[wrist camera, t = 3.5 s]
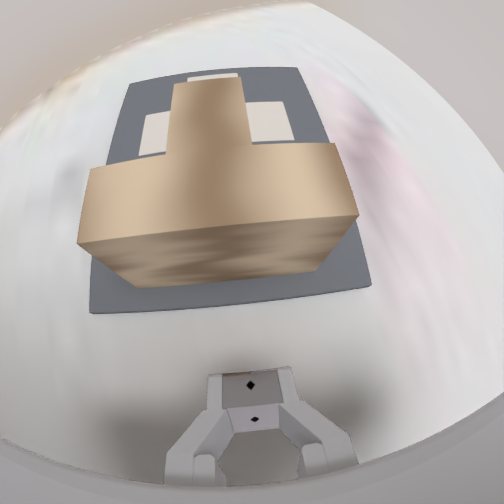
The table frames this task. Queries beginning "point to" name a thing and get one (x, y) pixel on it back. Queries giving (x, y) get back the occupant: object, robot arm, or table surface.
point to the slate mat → (262, 132)
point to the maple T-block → (216, 200)
